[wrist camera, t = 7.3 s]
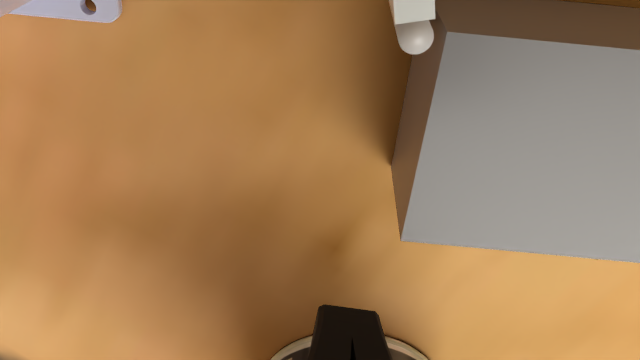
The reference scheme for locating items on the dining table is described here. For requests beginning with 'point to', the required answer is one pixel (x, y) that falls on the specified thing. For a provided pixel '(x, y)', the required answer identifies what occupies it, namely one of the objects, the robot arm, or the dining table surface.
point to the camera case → (524, 130)
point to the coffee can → (297, 352)
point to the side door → (413, 24)
